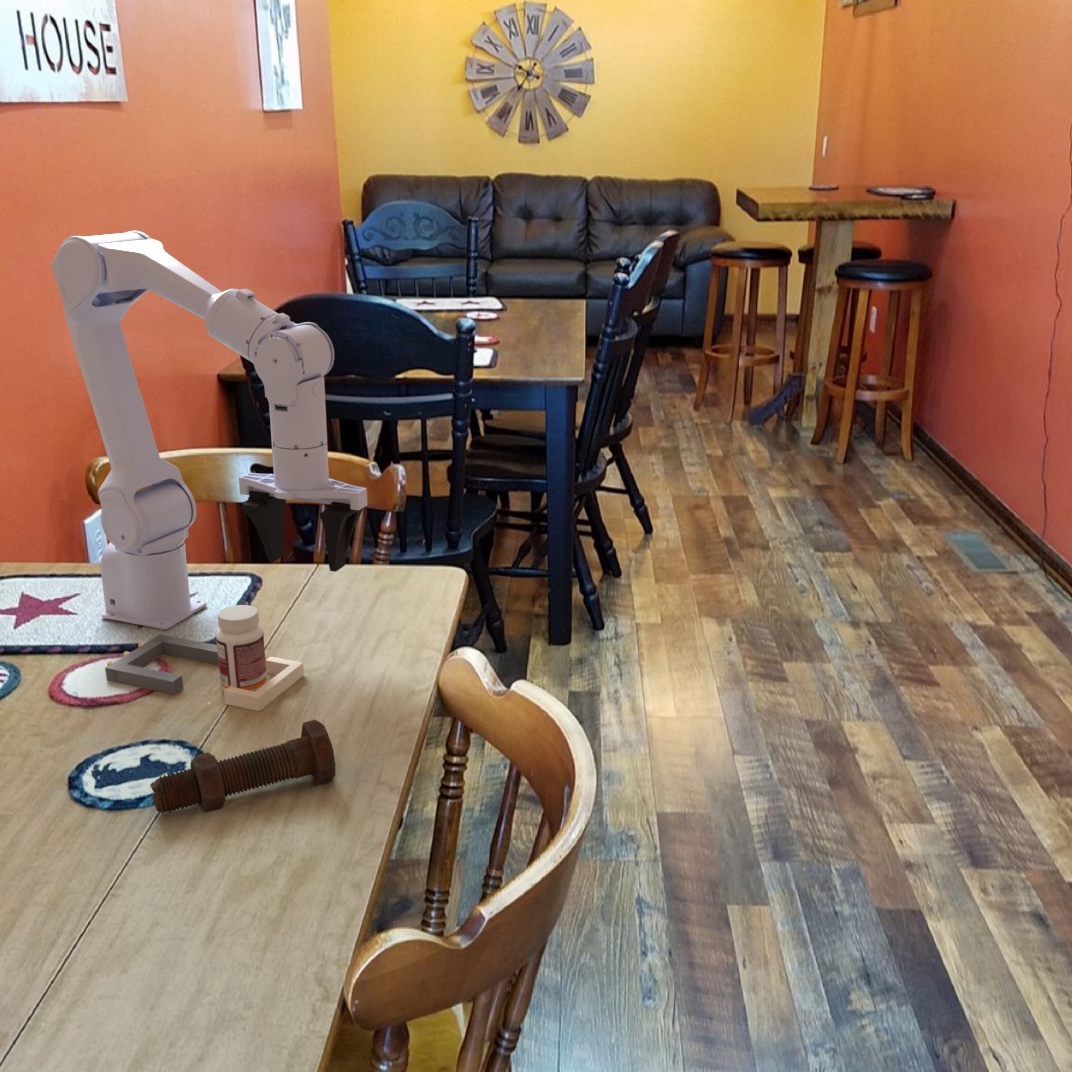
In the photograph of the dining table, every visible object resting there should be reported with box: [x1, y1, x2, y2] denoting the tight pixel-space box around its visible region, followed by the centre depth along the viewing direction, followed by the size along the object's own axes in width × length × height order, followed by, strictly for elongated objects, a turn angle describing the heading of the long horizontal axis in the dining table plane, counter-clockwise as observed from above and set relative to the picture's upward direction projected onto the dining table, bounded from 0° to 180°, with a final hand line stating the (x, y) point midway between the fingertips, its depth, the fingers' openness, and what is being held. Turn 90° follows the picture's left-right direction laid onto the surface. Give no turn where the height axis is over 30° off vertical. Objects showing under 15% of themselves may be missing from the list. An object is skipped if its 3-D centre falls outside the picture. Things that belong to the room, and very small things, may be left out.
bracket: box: [223, 656, 305, 712], centre depth 116 cm, size 4×8×2 cm, turn 160°
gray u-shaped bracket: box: [104, 633, 219, 696], centre depth 120 cm, size 10×9×2 cm
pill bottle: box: [215, 604, 268, 692], centre depth 116 cm, size 5×5×8 cm
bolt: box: [149, 719, 337, 815], centre depth 97 cm, size 6×5×15 cm
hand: (306, 563), depth 122 cm, fingers open, 7 cm apart
